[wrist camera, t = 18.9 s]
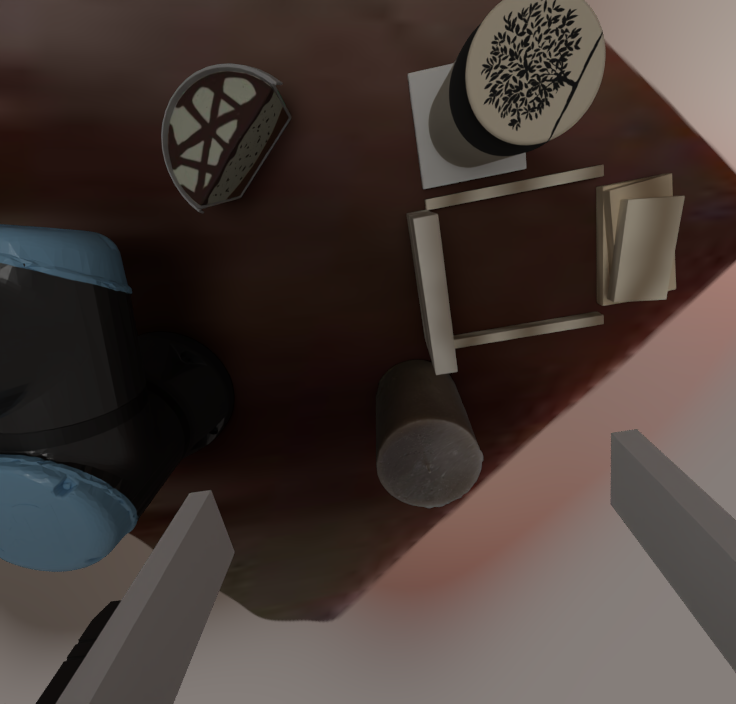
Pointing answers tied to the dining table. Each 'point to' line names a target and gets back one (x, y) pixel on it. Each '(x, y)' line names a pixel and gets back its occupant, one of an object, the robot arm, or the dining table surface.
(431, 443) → the pillar candle
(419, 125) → the mat
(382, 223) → the dining table surface
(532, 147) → the travel mug
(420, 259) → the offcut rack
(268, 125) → the food container
